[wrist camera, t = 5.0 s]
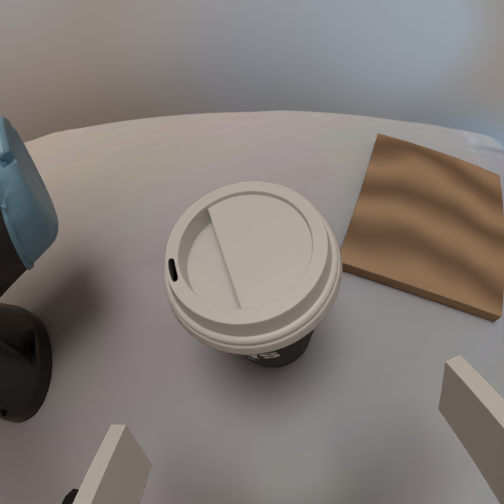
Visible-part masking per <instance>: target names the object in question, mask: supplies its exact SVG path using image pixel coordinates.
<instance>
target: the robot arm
mask: <svg viewBox="0 0 504 504" xmlns="http://www.w3.org/2000/svg"><path fill="white" fill-rule="evenodd" d="M57 234H58V218H57V214H56V211H55V208H54V205H53V203H52V200H51V198H50V196H49V193H48V191H47V189H46V187H45V184H44V182H43V180H42V178H41V176H40V174H39V172H38V170H37V168H36V166H35V164H34V162H33V160H32V158H31V156H30V154H29V152H28V150H27V149H26V147H25V145H24V143H23V141H22V140H21V138H20V136H19V134H18V133H17V131H16V130H15V128H14V127H13V126H12V125H11V123H10V121H9V120H8V119H7V118H5V117H0V297H1V296H2V295H3V294H4V293H5V292H6V291H7V289H8V288H9V287H10V286H11V285H12V284H13V283H14V282H15V281H16V280H17V279H18V278H19V277H20V276H21V275H22V274H23V273H24V272H25V271H26V270H27V269H28V270H31V269H32V268H33V266H34V262H35V261H36V260H37V259H38V258H39V257H40V256H41V255H42V254H43V253H44V252H45V251H46V250H47V249H48V248H49V247H50V246H51V245H52V244H53V242H54V241H55V239H56V237H57ZM50 374H51V347H50V342H49V338H48V334H47V331H46V329H45V327H44V325H43V324H42V322H41V321H40V319H39V318H38V317H37V316H35V315H34V314H32V313H31V312H29V311H27V310H26V309H24V308H22V307H19V306H16V305H9V304H3V303H0V419H4V420H8V421H13V422H21V421H24V420H27V419H28V418H30V417H31V416H32V415H33V414H34V413H35V412H36V411H37V410H38V408H39V407H40V405H41V404H42V402H43V400H44V397H45V395H46V392H47V389H48V385H49V380H50ZM439 410H440V412H441V413H442V415H443V416H444V418H445V419H446V421H447V422H448V423H449V425H450V426H451V428H452V429H453V431H454V432H455V434H456V435H457V437H458V438H459V440H460V441H461V443H462V444H463V446H464V447H465V449H466V450H467V452H468V453H469V455H470V456H471V458H472V459H473V461H474V462H475V464H476V466H477V467H478V469H479V470H480V472H481V473H482V475H483V477H484V478H485V480H486V481H487V483H488V485H489V486H490V488H491V489H492V491H493V493H494V494H495V496H496V498H497V499H498V501H499V503H500V504H504V399H503V398H502V397H501V396H500V395H499V394H498V393H497V392H496V391H495V390H494V389H493V388H492V387H491V386H490V385H489V384H488V383H487V382H486V381H485V380H484V379H483V377H482V376H481V375H480V374H479V373H478V372H477V371H476V370H475V369H474V368H473V367H472V366H471V365H470V364H469V363H468V362H467V361H466V360H465V359H464V358H463V357H462V356H461V355H459V356H457V357H455V358H452V359H450V360H447V361H445V369H444V377H443V384H442V391H441V397H440V403H439ZM151 466H152V464H151V462H150V461H149V459H148V458H147V457H146V455H145V454H144V452H143V451H142V449H141V448H140V446H139V445H138V443H137V441H136V440H135V438H134V437H133V435H132V434H131V432H130V430H129V429H128V427H127V426H126V425H111V426H110V428H109V430H108V432H107V434H106V436H105V438H104V440H103V442H102V444H101V446H100V448H99V450H98V452H97V454H96V456H95V458H94V460H93V462H92V464H91V466H90V468H89V470H88V472H87V474H86V476H85V478H84V480H83V483H82V485H81V487H80V489H79V490H78V489H73V490H72V491H71V492H70V493H68V494H67V495H66V496H65V498H64V500H63V502H62V504H140V502H141V498H142V495H143V492H144V489H145V485H146V482H147V479H148V476H149V472H150V469H151Z"/></svg>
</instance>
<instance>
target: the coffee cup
mask: <svg viewBox="0 0 504 504" xmlns="http://www.w3.org/2000/svg"><path fill="white" fill-rule="evenodd" d="M341 279H342V257H341V252H340V248H339V245H338V242H337V239H336V237H335V234H334V232H333V230H332V229H331V227H330V225H329V224H328V222H327V221H326V220H325V218H324V217H323V216H322V215H321V213H320V212H319V211H318V210H317V209H315V208H314V206H313V205H312V204H311V203H310V202H309V201H308V200H307V199H305V198H304V197H303V196H302V195H300V194H299V193H297V192H295V191H293V190H291V189H289V188H287V187H284V186H281V185H278V184H274V183H268V182H257V181H253V182H241V183H236V184H231V185H228V186H224V187H222V188H219V189H217V190H214V191H212V192H210V193H208V194H207V195H205V196H203V197H202V198H200V199H199V200H198V201H196V202H195V203H194V204H193V205H191V206H190V207H189V208H188V209H187V210H186V211H185V212H184V214H183V215H182V216H181V217H180V219H179V220H178V221H177V223H176V224H175V226H174V228H173V230H172V232H171V234H170V237H169V239H168V243H167V247H166V252H165V262H164V285H165V291H166V295H167V298H168V301H169V304H170V307H171V309H172V311H173V313H174V315H175V317H176V318H177V320H178V321H179V323H180V324H181V325H182V326H183V328H184V329H185V330H186V331H187V332H188V333H189V334H191V335H192V336H193V337H194V338H196V339H197V340H199V341H200V342H202V343H204V344H205V345H207V346H210V347H212V348H214V349H217V350H220V351H224V352H228V353H234V354H241V355H242V356H244V357H246V358H248V359H249V360H251V361H253V362H255V363H257V364H259V365H262V366H265V367H281V366H285V365H287V364H290V363H292V362H293V361H295V360H296V359H297V358H299V357H300V356H301V355H302V353H303V352H304V351H305V349H306V347H307V345H308V343H309V340H310V338H311V336H312V333H313V331H314V328H315V327H316V326H317V325H318V324H319V323H320V322H321V321H322V320H323V319H324V317H325V316H326V315H327V313H328V312H329V310H330V309H331V307H332V305H333V304H334V302H335V299H336V297H337V294H338V292H339V288H340V285H341Z"/></svg>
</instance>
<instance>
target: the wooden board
mask: <svg viewBox="0 0 504 504" xmlns="http://www.w3.org/2000/svg"><path fill="white" fill-rule="evenodd" d="M340 252H341V257H342V271H345V272H348V273H351V274H355V275H358V276H361V277H364V278H367V279H370V280H373V281H376V282H379V283H382V284H385V285H388V286H390V287H393V288H396V289H399V290H402V291H405V292H408V293H411V294H414V295H417V296H420V297H423V298H426V299H429V300H432V301H435V302H438V303H441V304H444V305H447V306H450V307H452V308H455V309H458V310H461V311H464V312H467V313H470V314H473V315H476V316H479V317H482V318H484V319H487V320H490V321H493V322H495V321H496V320H497V319H499V318H500V317H501V315H502V304H503V291H504V215H503V202H502V191H501V183H500V175H497V174H495V173H493V172H490V171H488V170H486V169H483V168H481V167H478V166H476V165H473V164H471V163H468V162H465V161H463V160H460V159H457V158H455V157H452V156H449V155H446V154H443V153H441V152H438V151H435V150H432V149H429V148H426V147H422V146H419V145H416V144H413V143H410V142H406V141H403V140H400V139H396V138H393V137H389V136H385V135H382V134H378V135H377V139H376V142H375V146H374V149H373V153H372V156H371V159H370V163H369V166H368V170H367V173H366V176H365V179H364V183H363V186H362V189H361V192H360V195H359V198H358V201H357V204H356V207H355V210H354V213H353V216H352V219H351V222H350V225H349V228H348V231H347V234H346V237H345V239H344V242H343V245H342V248H341V251H340Z"/></svg>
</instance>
